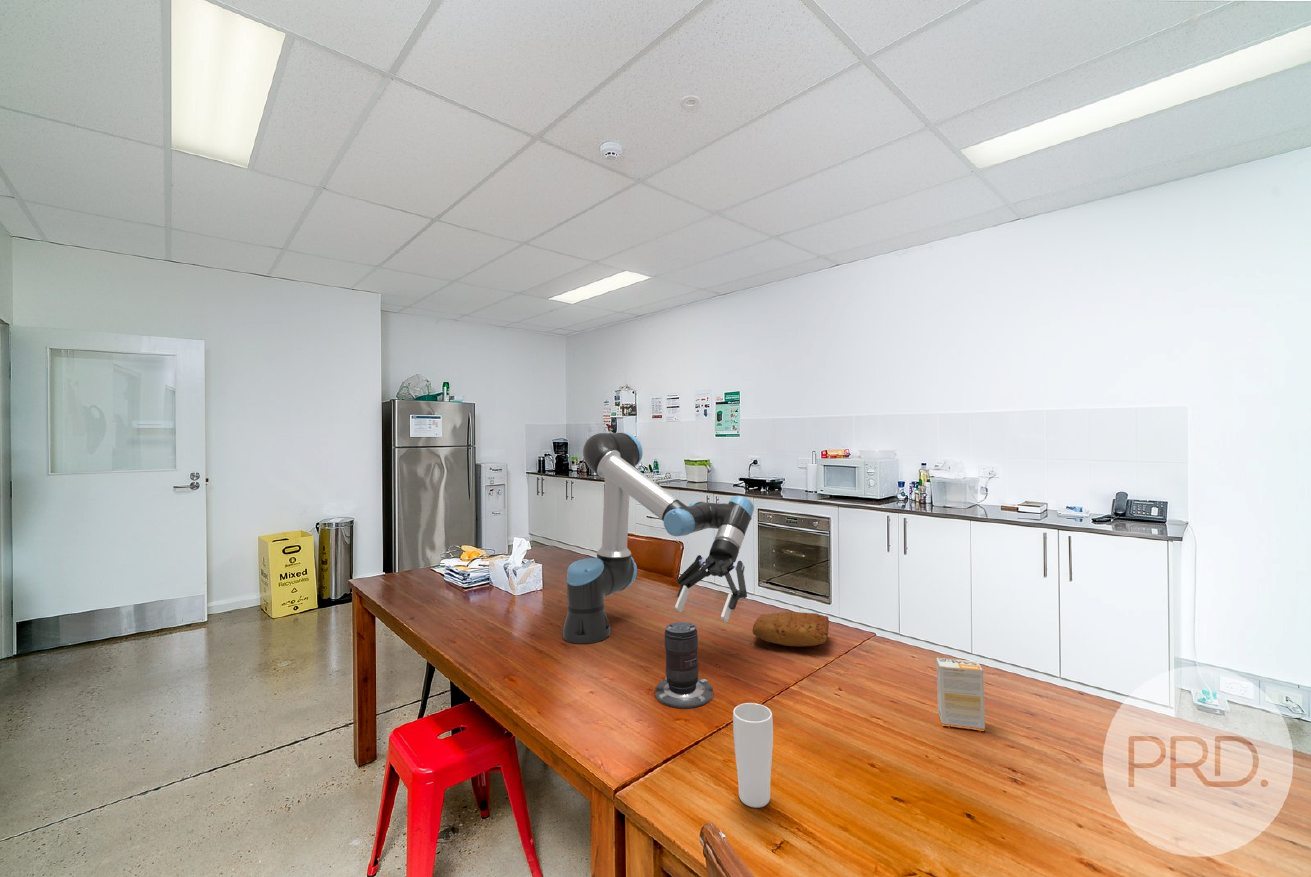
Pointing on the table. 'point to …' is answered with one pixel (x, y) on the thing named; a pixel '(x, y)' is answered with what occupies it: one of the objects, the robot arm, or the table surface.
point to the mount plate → (685, 695)
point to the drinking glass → (753, 752)
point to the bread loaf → (792, 628)
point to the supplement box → (960, 693)
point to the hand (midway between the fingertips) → (700, 614)
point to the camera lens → (681, 657)
